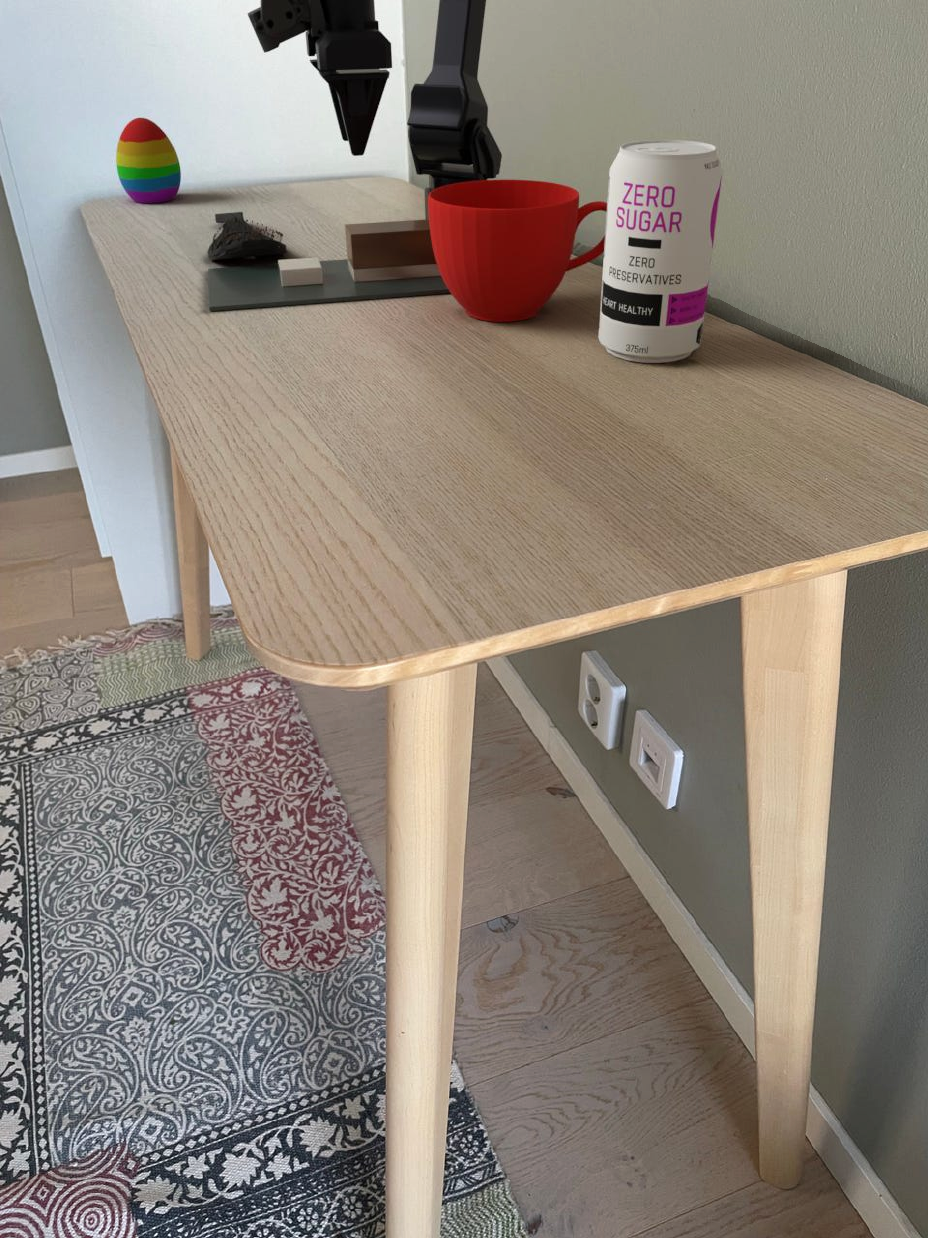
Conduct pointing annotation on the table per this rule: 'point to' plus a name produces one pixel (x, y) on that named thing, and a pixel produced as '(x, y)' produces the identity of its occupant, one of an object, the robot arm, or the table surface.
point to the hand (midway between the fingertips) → (352, 147)
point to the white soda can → (658, 248)
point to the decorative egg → (147, 163)
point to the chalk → (300, 272)
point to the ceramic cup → (506, 243)
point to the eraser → (390, 250)
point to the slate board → (306, 287)
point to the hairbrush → (242, 239)
